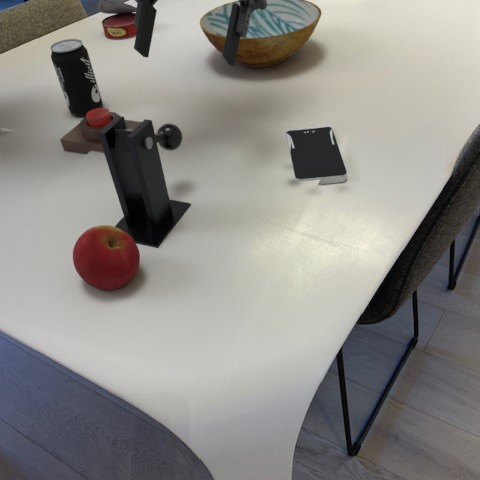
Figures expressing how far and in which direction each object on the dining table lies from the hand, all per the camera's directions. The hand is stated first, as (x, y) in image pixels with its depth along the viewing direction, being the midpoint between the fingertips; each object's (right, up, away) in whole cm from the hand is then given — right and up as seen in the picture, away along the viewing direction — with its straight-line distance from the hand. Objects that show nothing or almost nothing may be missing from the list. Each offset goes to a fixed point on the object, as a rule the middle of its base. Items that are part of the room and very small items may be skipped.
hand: (183, 57), depth 68 cm
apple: (-8, -32, -5) cm, 33 cm away
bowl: (+13, +21, +40) cm, 47 cm away
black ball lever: (-4, -14, -2) cm, 15 cm away
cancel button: (-16, -2, +17) cm, 24 cm away
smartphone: (+20, -11, +11) cm, 25 cm away
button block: (-16, -5, +20) cm, 26 cm away
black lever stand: (-5, -23, +2) cm, 23 cm away
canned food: (-22, +37, +58) cm, 72 cm away
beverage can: (-22, +5, +29) cm, 37 cm away
